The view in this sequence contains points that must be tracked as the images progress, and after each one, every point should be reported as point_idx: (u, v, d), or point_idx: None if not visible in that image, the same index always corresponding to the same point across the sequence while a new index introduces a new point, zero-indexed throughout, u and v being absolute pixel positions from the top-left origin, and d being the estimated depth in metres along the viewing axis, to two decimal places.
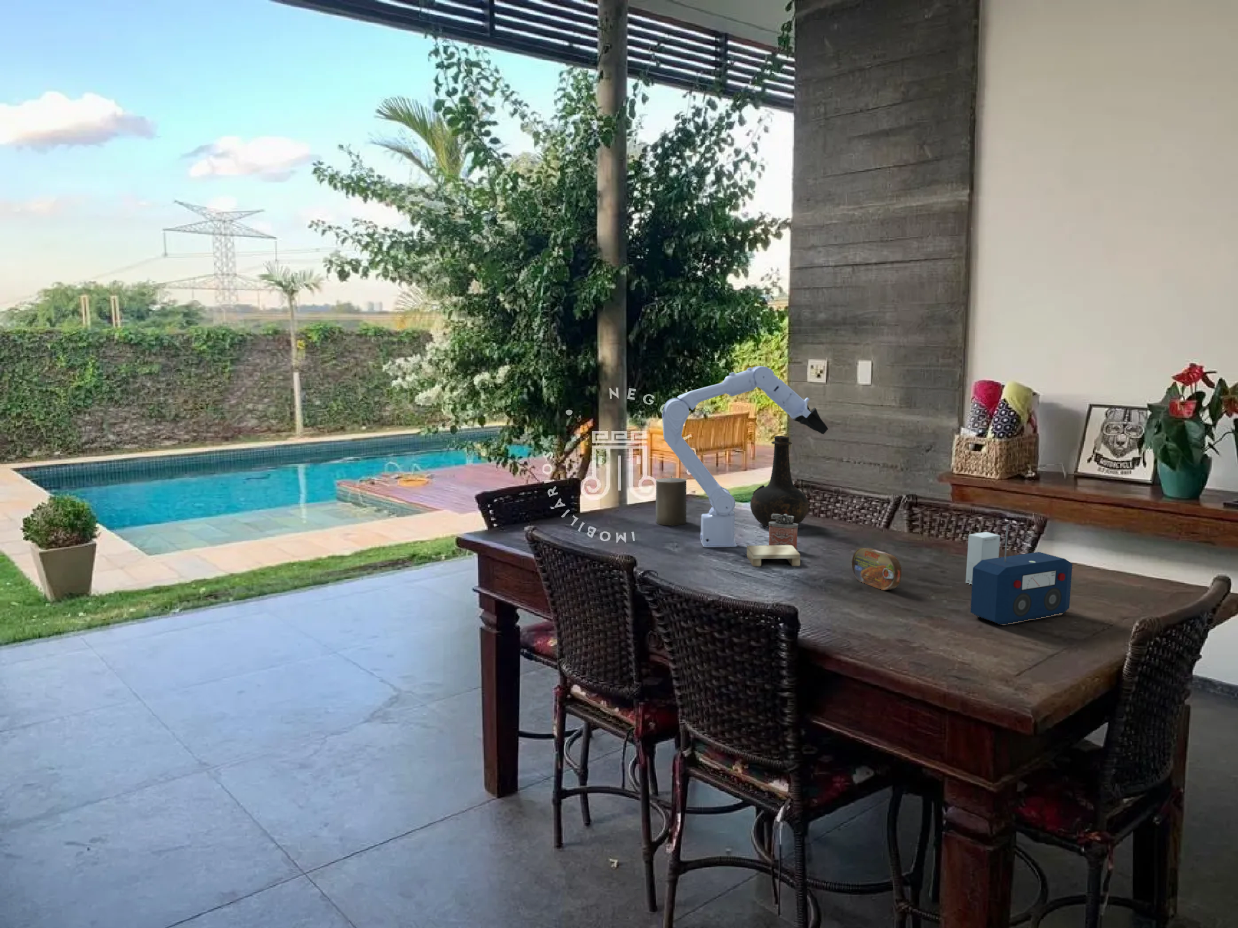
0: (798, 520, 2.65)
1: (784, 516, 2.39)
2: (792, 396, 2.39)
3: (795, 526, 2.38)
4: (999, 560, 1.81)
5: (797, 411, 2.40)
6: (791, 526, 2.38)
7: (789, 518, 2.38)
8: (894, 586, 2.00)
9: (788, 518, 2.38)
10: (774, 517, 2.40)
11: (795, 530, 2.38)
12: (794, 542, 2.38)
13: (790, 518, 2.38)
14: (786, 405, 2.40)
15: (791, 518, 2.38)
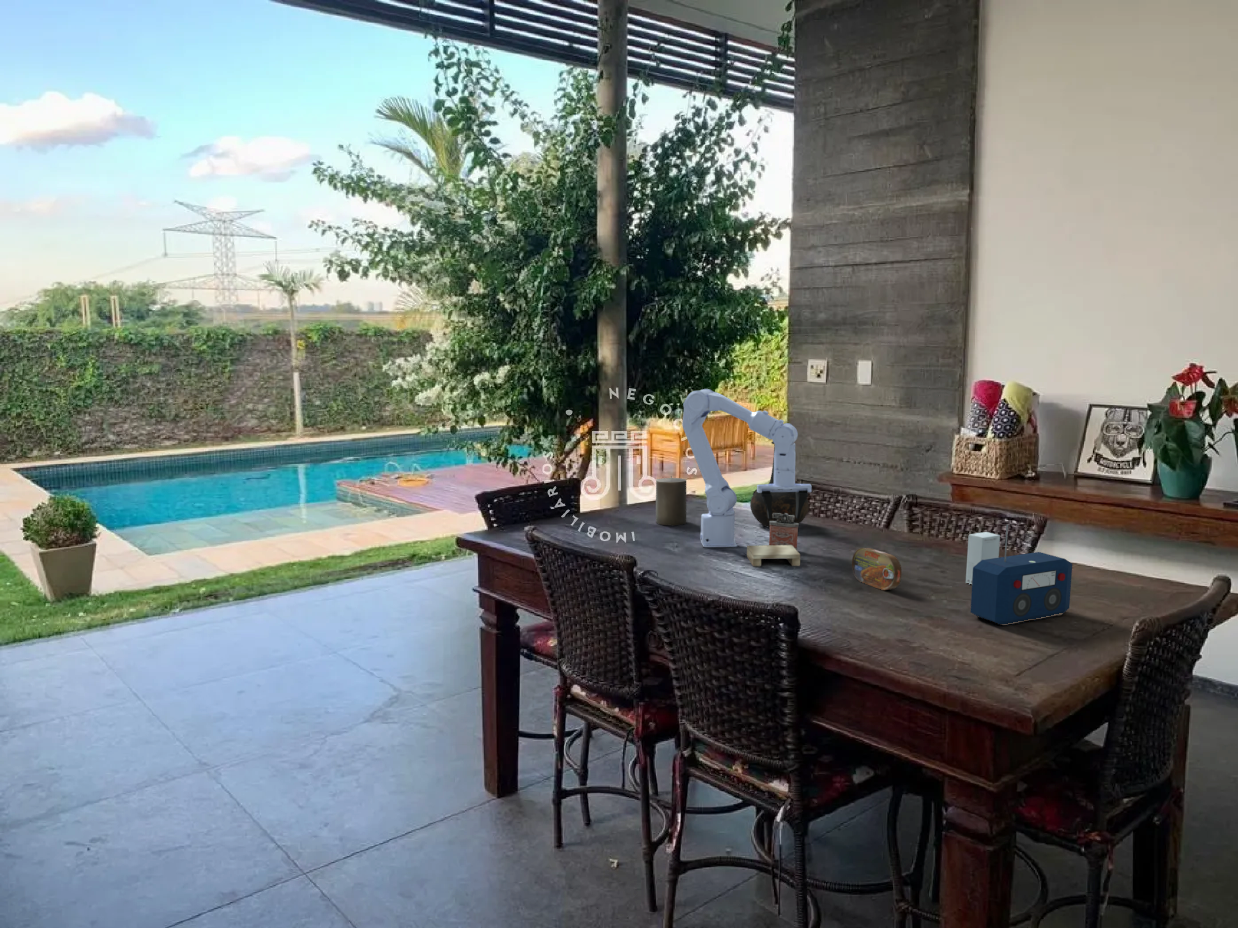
0: (798, 520, 2.65)
1: (785, 515, 2.39)
2: (776, 471, 2.36)
3: (796, 525, 2.38)
4: (999, 560, 1.81)
5: (773, 484, 2.39)
6: (792, 525, 2.38)
7: (790, 517, 2.39)
8: (894, 586, 2.00)
9: (789, 517, 2.39)
10: (775, 516, 2.40)
11: (795, 529, 2.38)
12: (794, 542, 2.38)
13: (791, 517, 2.39)
14: None
15: (792, 517, 2.38)
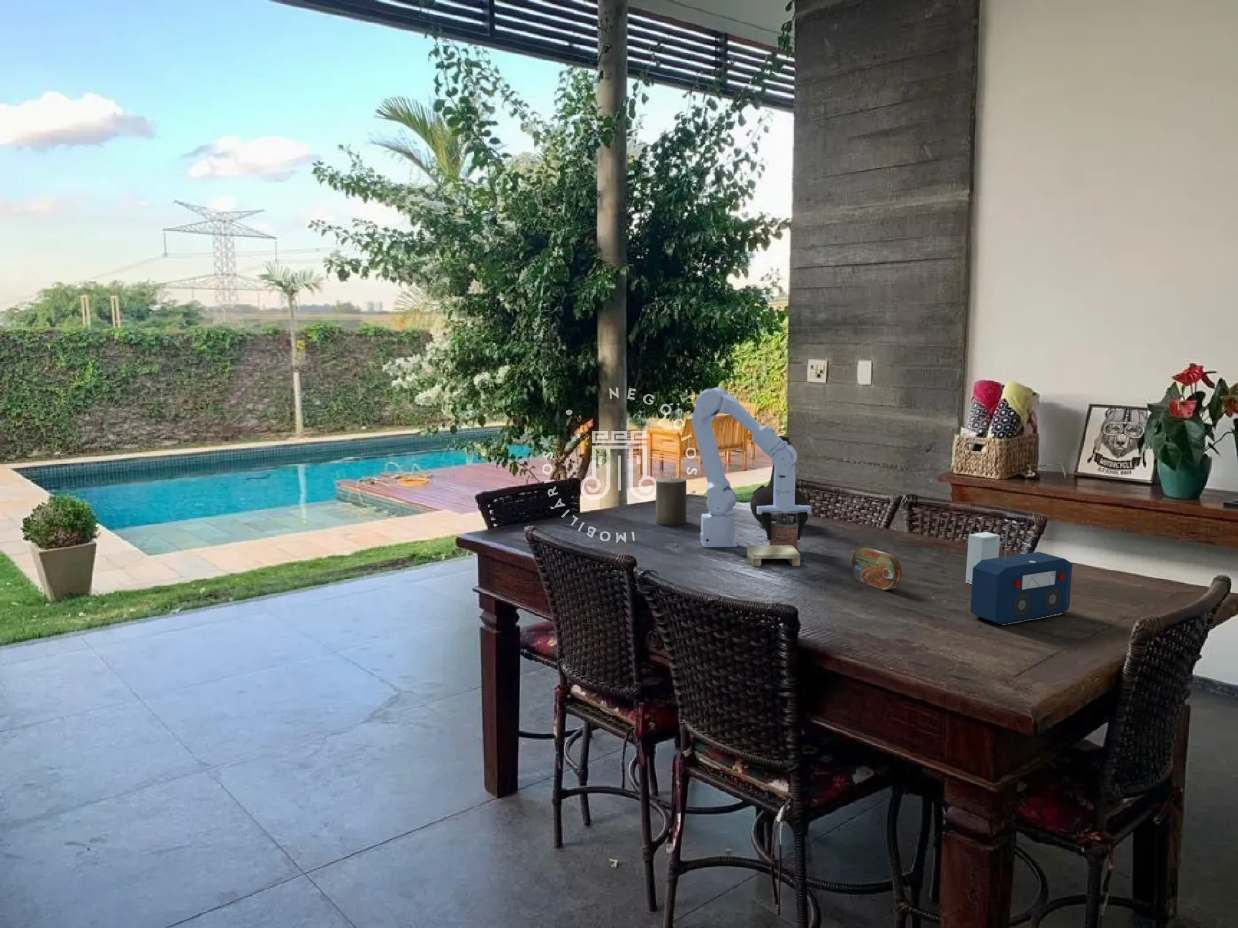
0: None
1: (784, 516, 2.39)
2: (775, 493, 2.37)
3: (795, 526, 2.37)
4: (999, 560, 1.81)
5: (773, 505, 2.40)
6: (791, 526, 2.37)
7: (789, 518, 2.38)
8: (894, 586, 2.00)
9: (788, 518, 2.38)
10: (774, 517, 2.40)
11: (795, 530, 2.38)
12: (794, 542, 2.38)
13: (790, 518, 2.38)
14: None
15: (791, 518, 2.38)
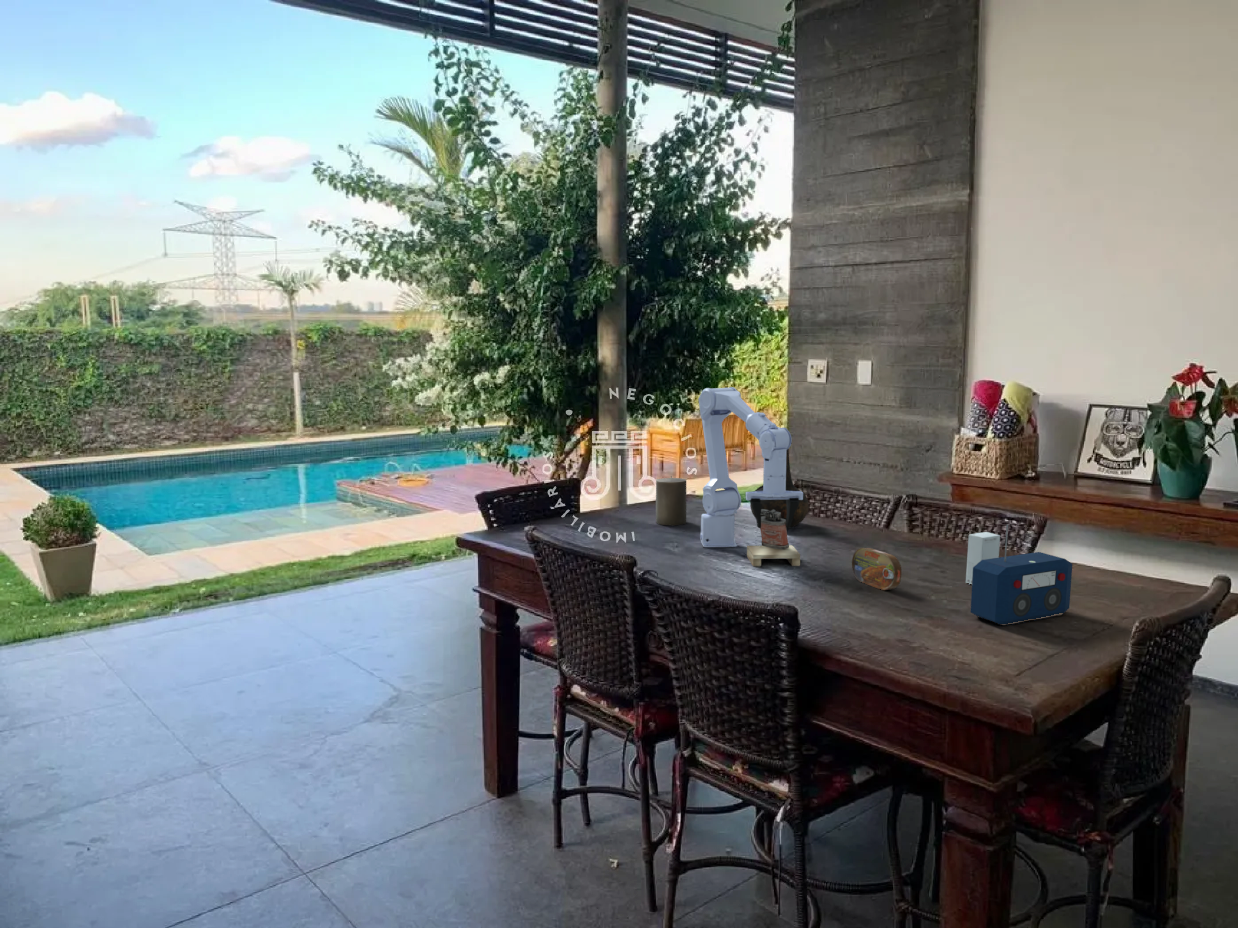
0: (798, 520, 2.65)
1: (770, 513, 2.28)
2: (765, 478, 2.24)
3: (781, 523, 2.26)
4: (999, 560, 1.81)
5: None
6: (777, 524, 2.27)
7: (775, 515, 2.27)
8: (894, 586, 2.00)
9: (774, 515, 2.28)
10: (762, 513, 2.30)
11: (782, 527, 2.27)
12: (783, 540, 2.28)
13: (776, 515, 2.27)
14: None
15: (777, 515, 2.27)
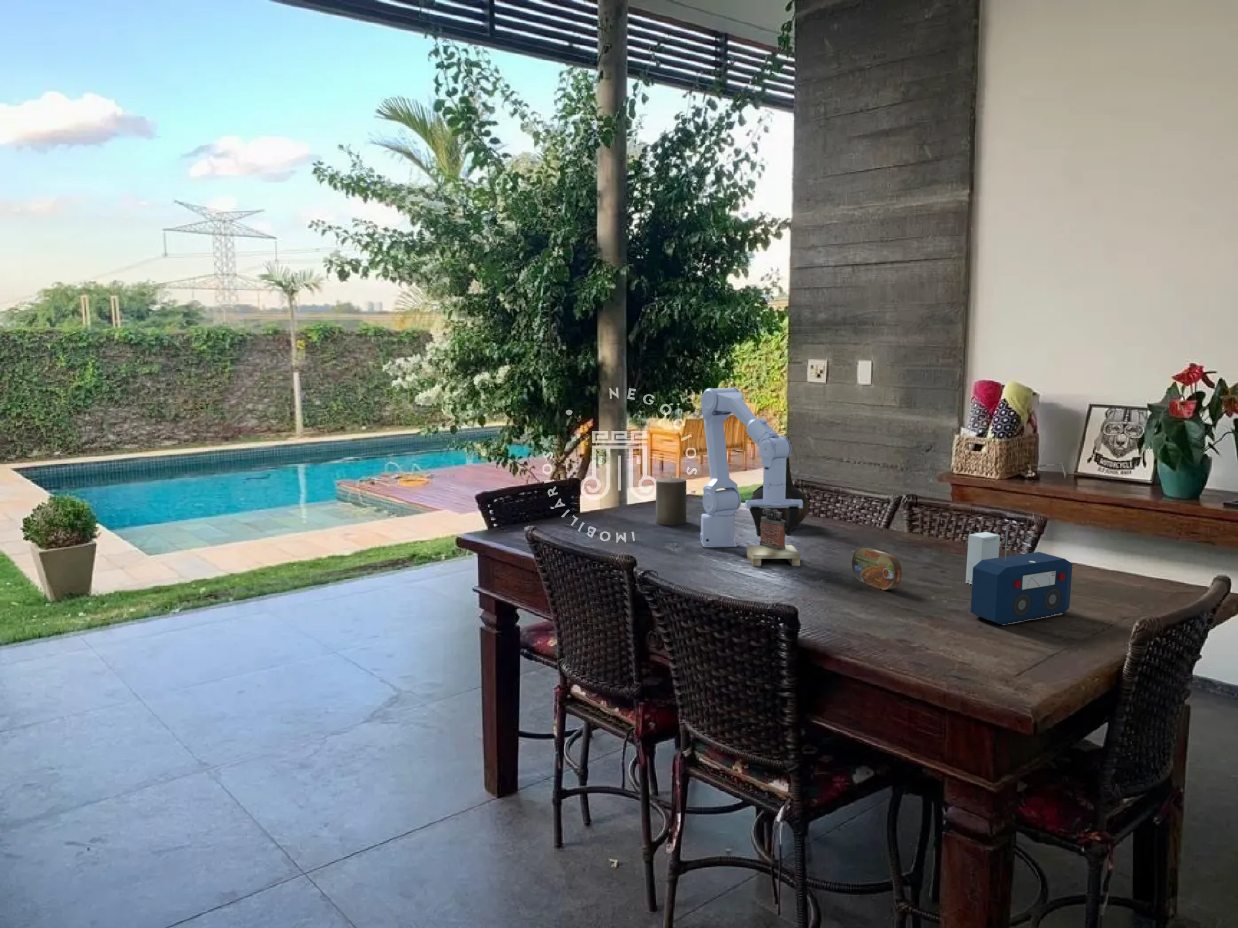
0: (798, 520, 2.65)
1: (772, 511, 2.30)
2: (765, 486, 2.25)
3: (780, 523, 2.27)
4: (999, 560, 1.81)
5: (762, 499, 2.27)
6: (776, 522, 2.28)
7: (776, 514, 2.29)
8: (894, 586, 2.00)
9: (775, 514, 2.29)
10: (764, 512, 2.32)
11: (781, 527, 2.28)
12: (779, 540, 2.28)
13: (777, 514, 2.28)
14: None
15: (778, 514, 2.28)
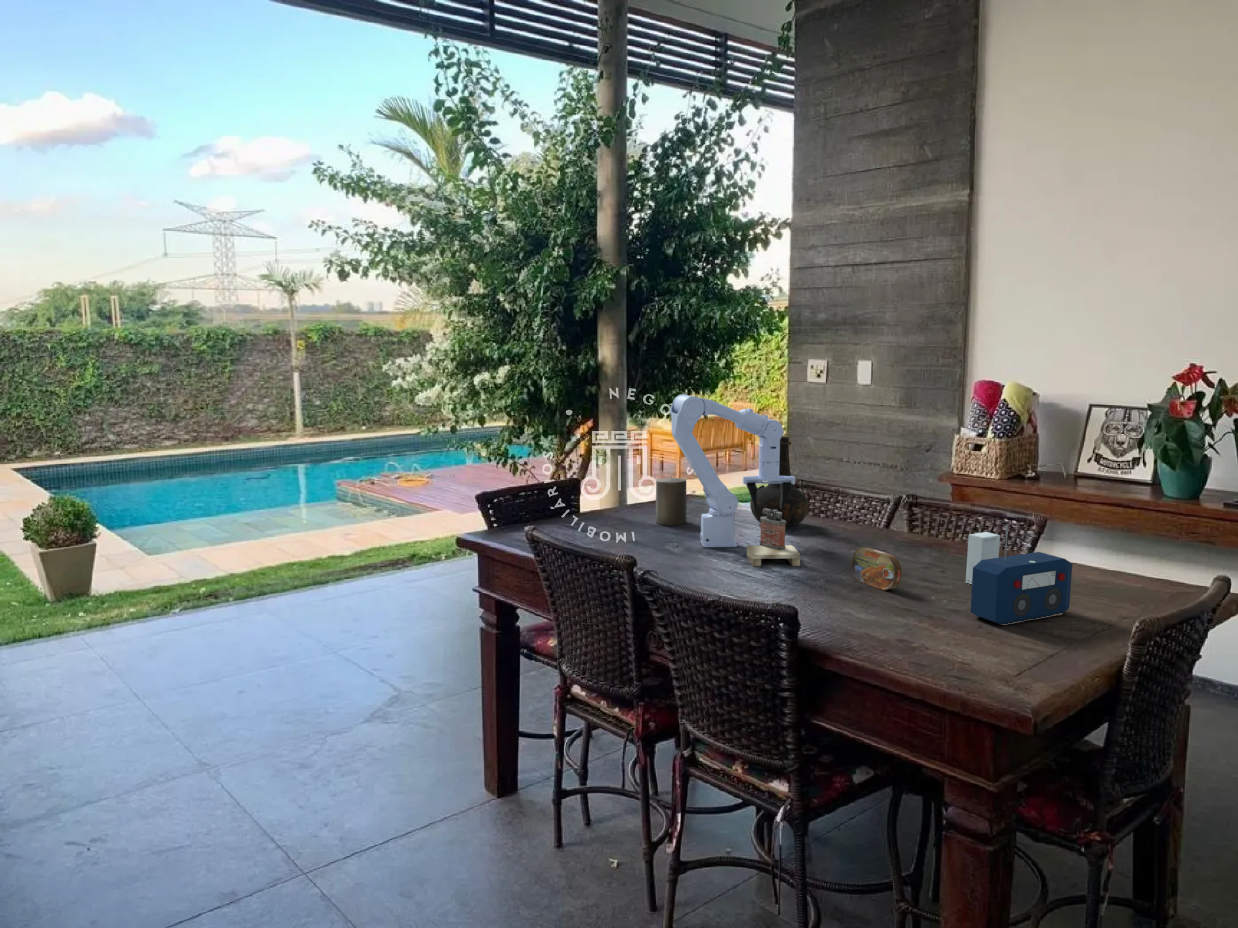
0: (798, 520, 2.65)
1: (772, 511, 2.30)
2: (760, 464, 2.46)
3: (780, 523, 2.27)
4: (999, 560, 1.81)
5: None
6: (776, 522, 2.28)
7: (776, 514, 2.29)
8: (894, 586, 2.00)
9: (775, 514, 2.29)
10: (764, 512, 2.32)
11: (781, 527, 2.28)
12: (779, 540, 2.28)
13: (777, 514, 2.28)
14: None
15: (778, 514, 2.28)
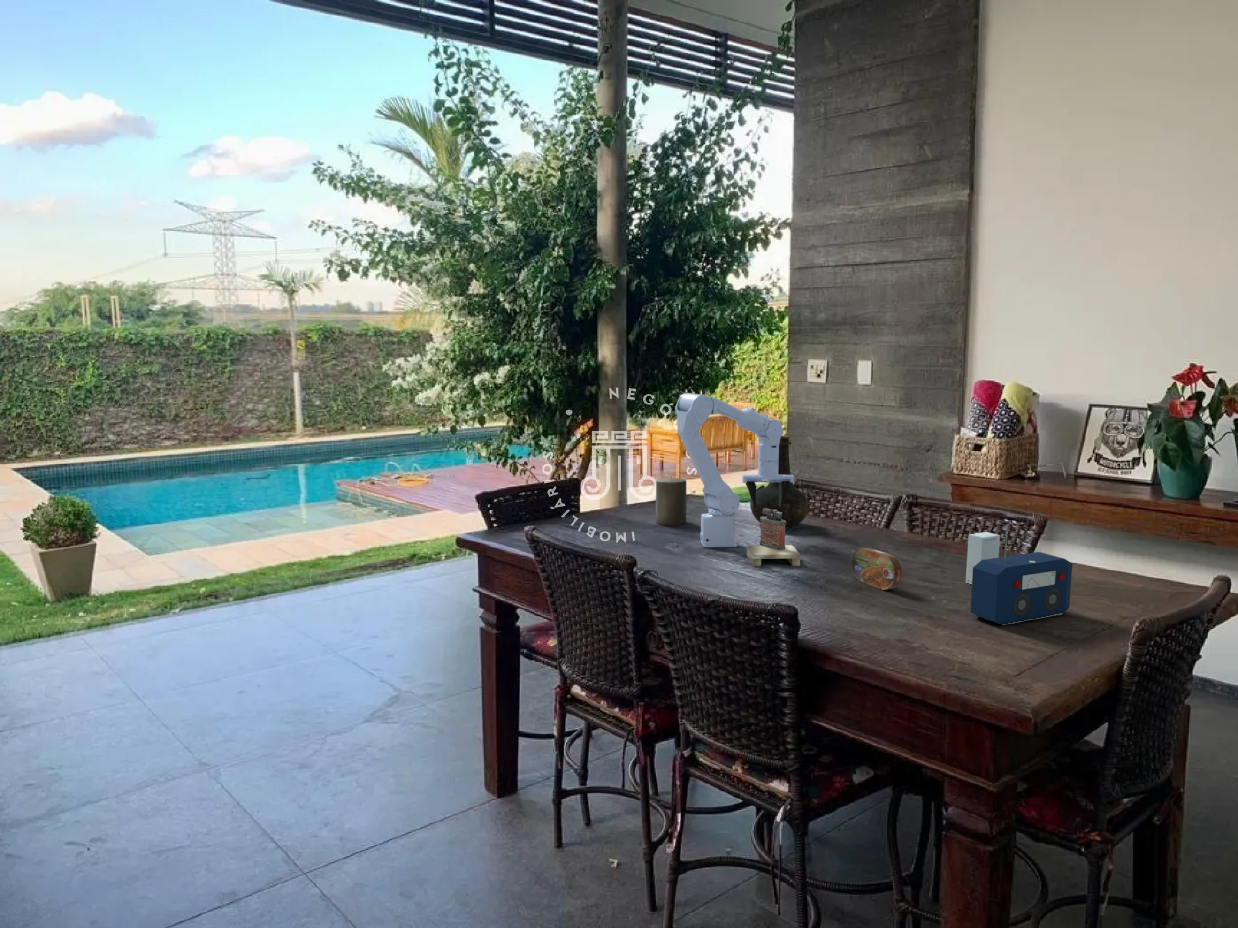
0: (798, 520, 2.65)
1: (772, 511, 2.30)
2: (760, 462, 2.49)
3: (780, 523, 2.27)
4: (999, 560, 1.81)
5: (758, 474, 2.52)
6: (776, 522, 2.28)
7: (776, 514, 2.29)
8: (894, 586, 2.00)
9: (775, 514, 2.29)
10: (764, 512, 2.32)
11: (781, 527, 2.28)
12: (779, 540, 2.28)
13: (777, 514, 2.28)
14: None
15: (778, 514, 2.28)
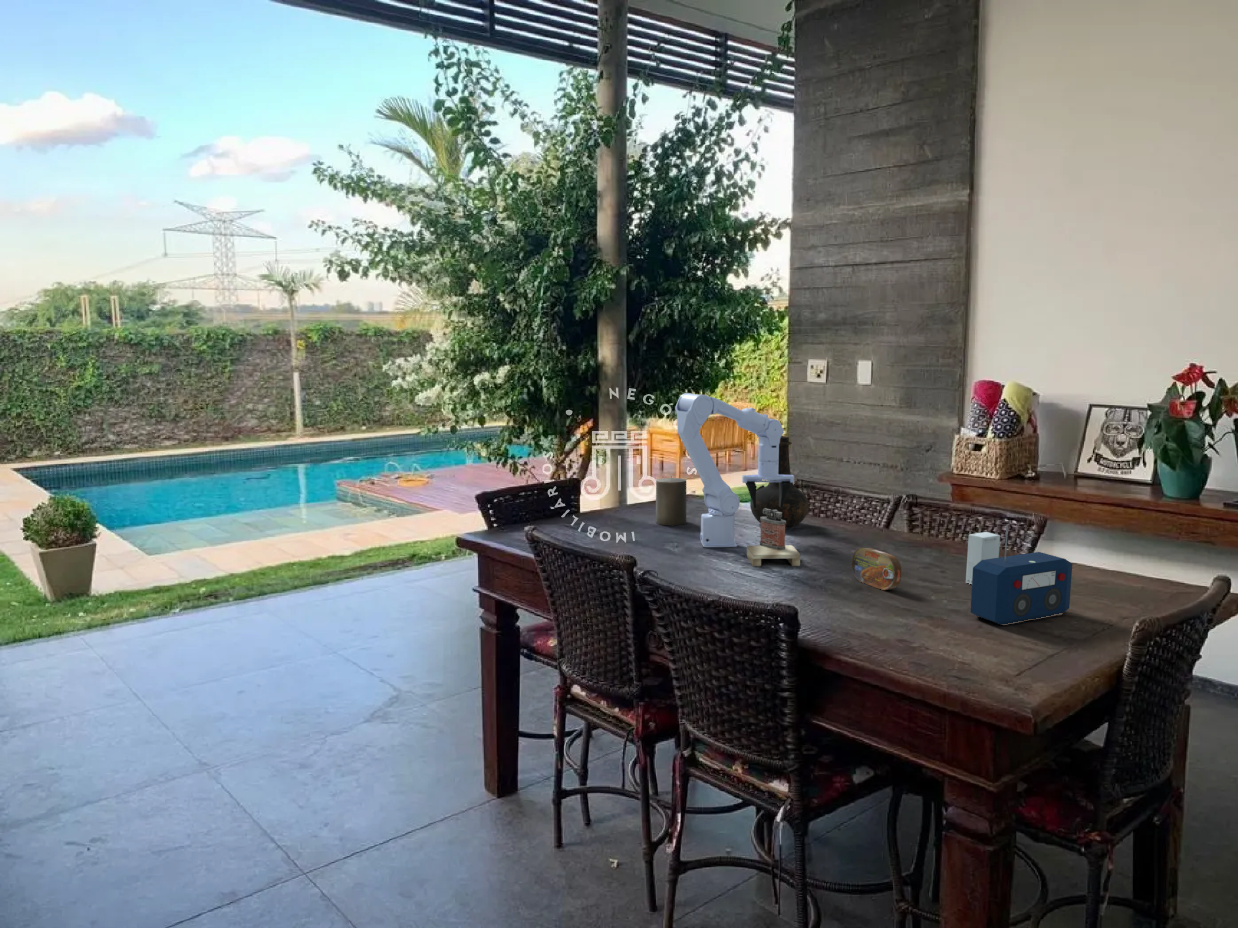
0: (798, 520, 2.65)
1: (772, 511, 2.30)
2: (760, 462, 2.49)
3: (780, 523, 2.27)
4: (999, 560, 1.81)
5: (758, 474, 2.52)
6: (776, 522, 2.28)
7: (776, 514, 2.29)
8: (894, 586, 2.00)
9: (775, 514, 2.29)
10: (764, 512, 2.32)
11: (781, 527, 2.28)
12: (779, 540, 2.28)
13: (777, 514, 2.28)
14: None
15: (778, 514, 2.28)
